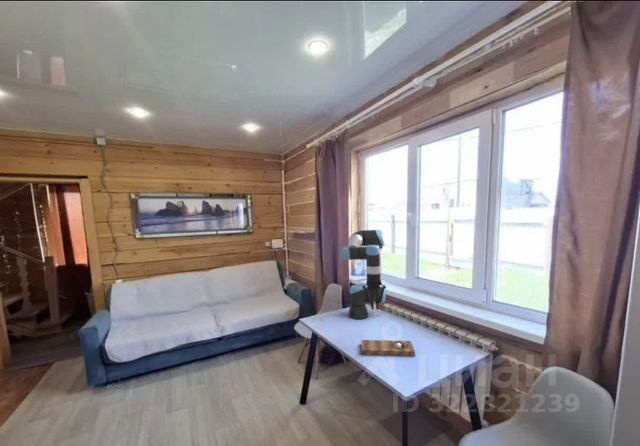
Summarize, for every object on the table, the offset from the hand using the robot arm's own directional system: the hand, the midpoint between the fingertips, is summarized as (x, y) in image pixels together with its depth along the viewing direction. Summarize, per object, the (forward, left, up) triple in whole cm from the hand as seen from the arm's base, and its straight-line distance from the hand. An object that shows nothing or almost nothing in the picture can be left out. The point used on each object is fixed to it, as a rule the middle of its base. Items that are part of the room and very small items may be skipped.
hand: (375, 314), depth 150 cm
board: (0, +6, -20) cm, 21 cm away
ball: (0, +12, -18) cm, 22 cm away
